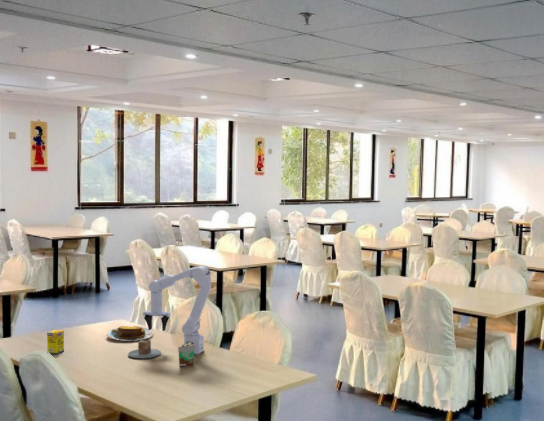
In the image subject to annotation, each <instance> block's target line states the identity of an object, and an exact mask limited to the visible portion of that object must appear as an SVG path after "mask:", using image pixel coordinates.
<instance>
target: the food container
mask: <svg viewBox="0 0 544 421" xmlns="http://www.w3.org/2000/svg"><path fill="white" fill-rule="evenodd" d="M195 348H196V347H195V344H194V342H192V341H186V343H185V344H184V343H182V345H181V346H178V348H177V349H178V362H179V363H178V366H179V368H188V367H189V366H190V367H192V366H193V365H194V357H195V354H194V349H195Z"/></svg>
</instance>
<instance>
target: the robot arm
mask: <svg viewBox="0 0 544 421" xmlns="http://www.w3.org/2000/svg"><path fill="white" fill-rule="evenodd" d="M211 275H212V274H211V270H210V269H209V267H208V266H207V265H204V264H201V265H199V266H194V267H191V268H190V267H189V268H188V269H186V270H183V271H181V272H178V273H176V274H174V275H173V274H171V273H170V274H169V273H166V274H164V276H163V277H157V279H155V280H152V281H150V283H149V285H148V289H149V291H150V310H144V311H143V312H142V313H143V314H142V316H144V317H143V318H144V320H145V322H146V324H147V327H148V329H149V330H153V317H154V316H155V317H160V320H161V327H162V328H161V330H162V332H165V331H166V328H167V324H168V321H169V319H170V317H171V312H169V311H163V290H165V289H168V288H169V287H172V286H174V285H175V284H176V282H177V281H180V280H183V279H185V278H190V279H193V280H194V281H195V282H196V283H197V284H198V285H199V291H198V293H197V296H196V299H195V301H194V304H193V306H192V309H191V311H190V314H189V316H188V318H187V320H185V321H186V322H185V323H184V324H183V325H182V328H181V329H182V330H181V331H182V333H183V344H185V343H186V341H192V342H194V344H195V347H196V348H195V349H194V355H199V354H201V353H202V352H203V351H205V348H204V347H205V346H204V345H205V341H204V340H205V339H204V336H203V335H202V334H199V330H200V328H201V315H202V313H203V310H204V307H205V305H206V303H207V300H208V297H209V294H210V291H211V288H212V278H211Z"/></svg>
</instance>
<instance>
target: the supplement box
mask: <svg viewBox="0 0 544 421" xmlns="http://www.w3.org/2000/svg"><path fill="white" fill-rule="evenodd" d="M64 333H65V331H64V330H61V329H60V330H58V329H53V330H50V331H47V333H46V336H47V338H46V339H47V341H46V342H47V348H46V349H47V353H48V352H49V353H51V354H50V355H57V356H58V355H60V354H61V353H64V352H65V338H64V335H65V334H64Z"/></svg>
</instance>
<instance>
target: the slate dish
mask: <svg viewBox="0 0 544 421" xmlns="http://www.w3.org/2000/svg"><path fill="white" fill-rule="evenodd" d="M161 354H162V352H161V350H159V349H156V348H151V352H150V353H148V354H147V355H146V354H138V348H137V349H134V350H130V351H129V352H128V354H127V355H128V357H130V358H134V359H150V358H154V357H158V356H160V355H161Z"/></svg>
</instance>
